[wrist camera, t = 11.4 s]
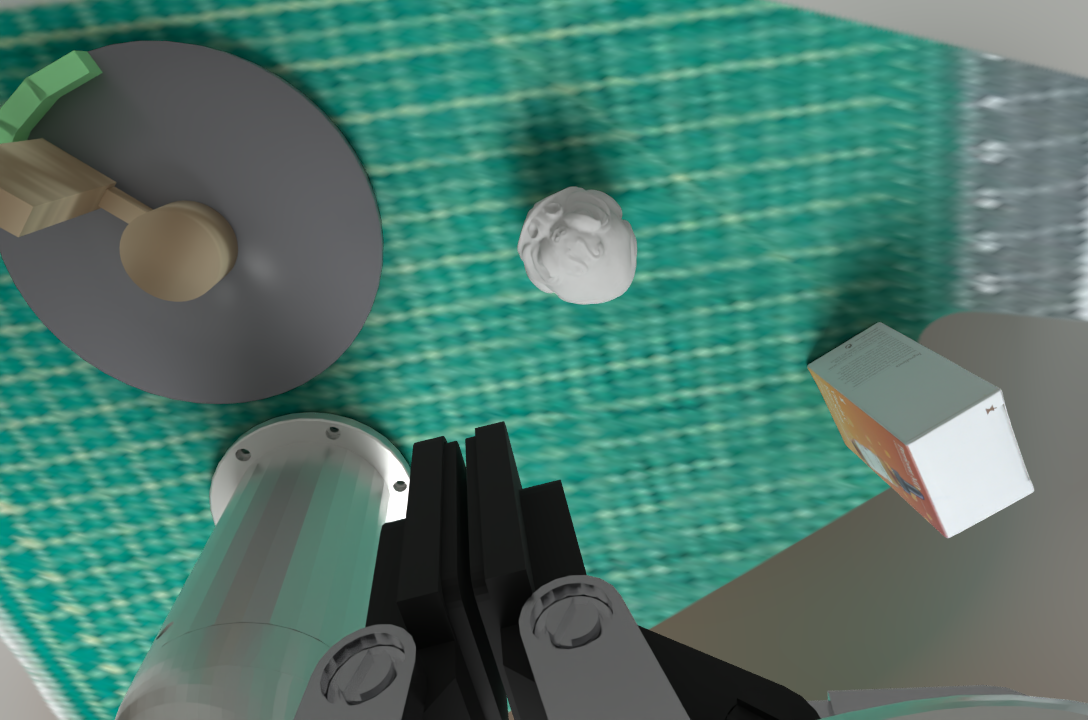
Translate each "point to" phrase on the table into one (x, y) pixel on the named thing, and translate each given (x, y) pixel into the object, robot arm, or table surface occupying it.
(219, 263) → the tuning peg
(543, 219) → the grey rounded lump
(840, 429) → the small box
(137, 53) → the dial face
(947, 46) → the table surface
